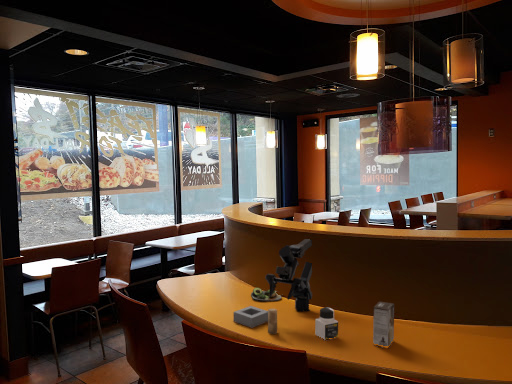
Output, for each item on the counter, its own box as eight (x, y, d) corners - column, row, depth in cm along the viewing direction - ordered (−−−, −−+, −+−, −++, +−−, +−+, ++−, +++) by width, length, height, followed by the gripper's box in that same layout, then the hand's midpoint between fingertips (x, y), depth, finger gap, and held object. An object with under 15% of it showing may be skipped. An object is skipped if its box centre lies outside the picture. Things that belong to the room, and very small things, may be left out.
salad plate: (281, 292, 236) (281, 284, 236) (288, 301, 218) (288, 293, 218) (249, 293, 233) (249, 285, 233) (253, 303, 216) (253, 294, 216)
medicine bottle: (325, 340, 166) (325, 312, 165) (314, 334, 172) (315, 307, 172) (338, 337, 169) (338, 310, 169) (328, 331, 175) (328, 305, 175)
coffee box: (378, 337, 169) (379, 300, 168) (394, 341, 166) (394, 303, 165) (372, 345, 161) (373, 306, 161) (388, 349, 158) (389, 309, 157)
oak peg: (276, 330, 177) (276, 308, 176) (277, 334, 173) (277, 311, 172) (267, 330, 176) (267, 308, 176) (268, 334, 172) (268, 311, 172)
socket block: (250, 314, 197) (250, 305, 196) (269, 320, 188) (269, 311, 188) (233, 321, 188) (233, 311, 188) (251, 327, 180) (251, 318, 179)
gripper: (266, 257, 190) (255, 285, 181) (302, 261, 180) (291, 292, 171) (274, 269, 197) (263, 297, 188) (309, 274, 187) (299, 304, 179)
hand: (278, 297), depth 182 cm, fingers open, 9 cm apart
